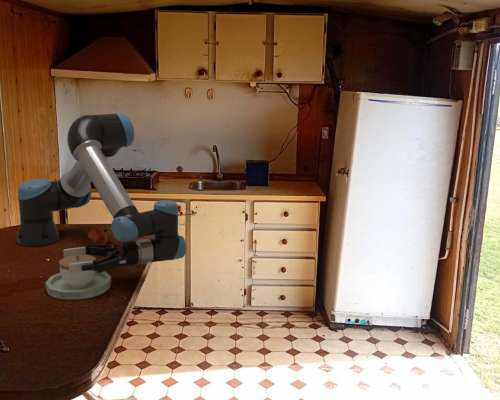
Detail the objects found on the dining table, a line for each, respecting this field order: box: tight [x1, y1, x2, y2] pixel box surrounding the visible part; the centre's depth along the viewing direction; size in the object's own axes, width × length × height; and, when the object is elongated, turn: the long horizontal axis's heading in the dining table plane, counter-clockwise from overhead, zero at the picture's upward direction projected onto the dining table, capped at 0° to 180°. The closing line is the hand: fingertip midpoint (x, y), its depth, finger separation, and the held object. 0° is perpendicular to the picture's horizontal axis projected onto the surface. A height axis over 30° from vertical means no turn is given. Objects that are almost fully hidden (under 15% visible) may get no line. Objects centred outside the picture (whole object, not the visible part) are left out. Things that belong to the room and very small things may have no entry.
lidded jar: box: [58, 255, 97, 288], centre depth 159 cm, size 11×11×9 cm
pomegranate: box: [87, 228, 109, 245], centre depth 198 cm, size 7×7×10 cm
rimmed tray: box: [45, 271, 112, 301], centre depth 160 cm, size 18×18×2 cm
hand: (66, 261), depth 157 cm, fingers open, 13 cm apart
